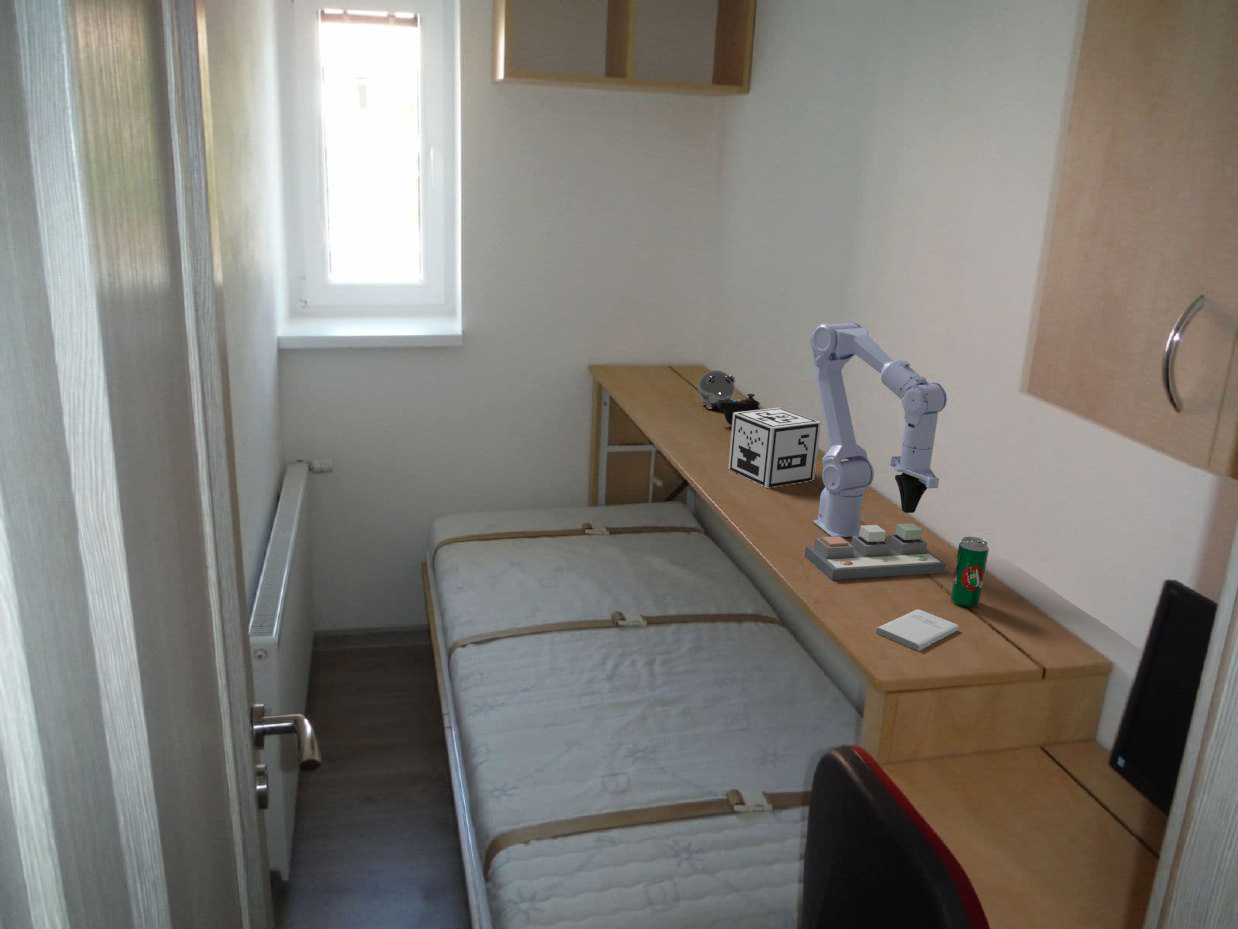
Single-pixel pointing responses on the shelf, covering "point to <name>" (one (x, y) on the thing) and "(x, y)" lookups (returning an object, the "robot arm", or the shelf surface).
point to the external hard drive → (917, 629)
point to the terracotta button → (834, 541)
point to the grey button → (872, 533)
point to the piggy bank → (716, 387)
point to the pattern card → (883, 561)
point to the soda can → (969, 571)
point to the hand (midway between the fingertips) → (908, 511)
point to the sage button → (908, 531)
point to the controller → (737, 406)
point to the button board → (872, 549)
